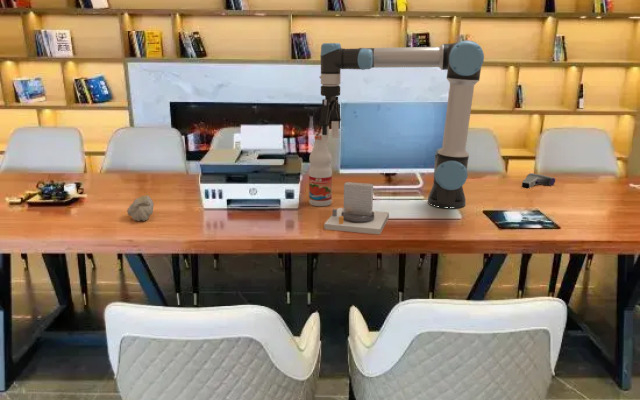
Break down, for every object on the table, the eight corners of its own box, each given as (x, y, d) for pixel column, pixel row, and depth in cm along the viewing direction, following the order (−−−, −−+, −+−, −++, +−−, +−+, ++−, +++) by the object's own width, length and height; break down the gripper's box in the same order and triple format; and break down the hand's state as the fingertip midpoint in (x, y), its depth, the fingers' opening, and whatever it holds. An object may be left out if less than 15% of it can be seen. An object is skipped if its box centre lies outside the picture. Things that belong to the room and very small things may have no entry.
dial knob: (376, 213, 202) (378, 181, 198) (370, 223, 191) (371, 189, 187) (345, 210, 205) (346, 179, 201) (338, 220, 194) (338, 187, 190)
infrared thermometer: (519, 189, 249) (528, 181, 261) (546, 194, 242) (555, 185, 254) (520, 180, 248) (529, 172, 259) (547, 184, 241) (556, 175, 252)
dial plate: (388, 217, 205) (389, 206, 204) (379, 234, 187) (380, 222, 185) (338, 212, 210) (338, 201, 209) (324, 229, 192) (324, 217, 191)
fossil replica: (135, 225, 195) (161, 221, 202) (136, 204, 193) (161, 200, 200) (121, 215, 203) (145, 212, 210) (121, 194, 201) (146, 192, 208)
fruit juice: (334, 201, 225) (335, 134, 217) (328, 207, 217) (329, 138, 209) (312, 199, 228) (312, 133, 220) (306, 205, 219) (305, 137, 211)
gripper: (330, 82, 218) (330, 134, 224) (310, 87, 195) (311, 145, 201) (348, 83, 215) (347, 135, 221) (330, 87, 193) (330, 146, 199)
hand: (330, 140), depth 211 cm, fingers open, 13 cm apart
